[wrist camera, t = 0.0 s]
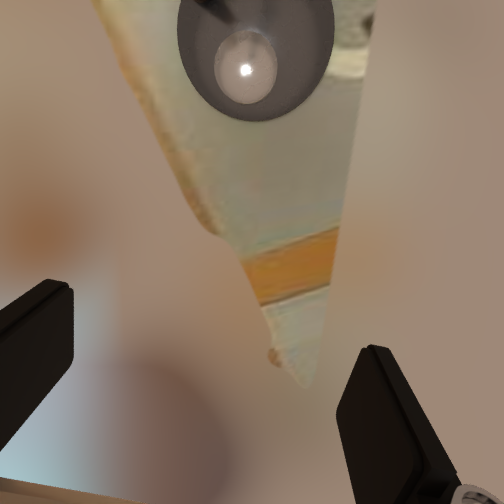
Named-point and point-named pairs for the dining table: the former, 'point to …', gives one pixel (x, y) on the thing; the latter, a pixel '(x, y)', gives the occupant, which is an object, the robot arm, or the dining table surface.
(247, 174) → the dining table surface
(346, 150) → the dining table surface
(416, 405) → the robot arm
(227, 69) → the cover
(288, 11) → the turntable
